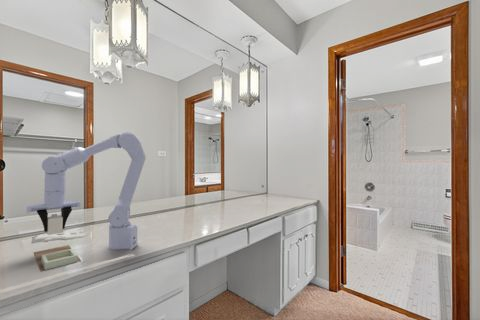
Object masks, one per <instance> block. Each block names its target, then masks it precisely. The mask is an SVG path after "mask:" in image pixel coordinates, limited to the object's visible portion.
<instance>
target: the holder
mask: <svg viewBox="0 0 480 320" xmlns="http://www.w3.org/2000/svg"><path fill="white" fill-rule="evenodd" d="M78 257H79V256H78V253H76V251H75V250H74V249H73V248H71V249H68V250H63V251H59V252H54V253H50V254H45V255H42V260H41V262H42V264H43V266H44V269H45V270H46V271H48V270H47V269H50V270H52V269H51V268H54V267H57V268H59V267H58V266H61V267H63V266H62V265H65V266H67V265H66V264H69V265H71V264H70V263H73V264H75V263H74V262H77V263H79V262H78ZM54 269H55V268H54Z"/></svg>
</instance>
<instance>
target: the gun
mask: <svg viewBox="0 0 480 320" xmlns="http://www.w3.org/2000/svg"><path fill="white" fill-rule="evenodd" d="M88 235H89V234H88V233H84V232H83V231H81V230H75V231H74V230H73V231H66V232H65V231H64V232H63V233H58V234H52V235H47V233H44V234H39V235H38V234H37V235H33V236H32V239H31V244H35V243H40V242H41V243H42V242H51V241H52V242H53V241H60V240H61V241H68V240H69V241H70V240H74V239H80V238H84V237H86V236H88Z"/></svg>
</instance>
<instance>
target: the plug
mask: <svg viewBox="0 0 480 320" xmlns="http://www.w3.org/2000/svg"><path fill="white" fill-rule="evenodd" d="M47 226H48V231H47V232H45V234H47V235H52V234H58V233H63V231H64V229H63V217H62V216H61V214H59V215H58V214H57V213H54V214H53V213H52V214H51V215H50V216H48V218H47Z"/></svg>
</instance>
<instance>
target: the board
mask: <svg viewBox="0 0 480 320" xmlns="http://www.w3.org/2000/svg"><path fill="white" fill-rule="evenodd" d="M68 249H72V248H71V246H70V245H69V244H68V245H63V246H59V247H53V248H48V249H43V250H39V251H33V255H34V257H35V260H36V263H37V266H38V268H39V271H40V272H41V273H42V272H46V271H49V270H53V269H57V268H61V267H65V266H69V265H73V264H77V263H81V262H82V260H81V258H80V257H79V256H78V262H74V263H70V264H66V265H62V266H58V267H54V268H51V269H47V270H45V269H44V266H43V264H42V262H41V260H42V255H45V254H50V253H54V252H59V251H63V250H68Z"/></svg>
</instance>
